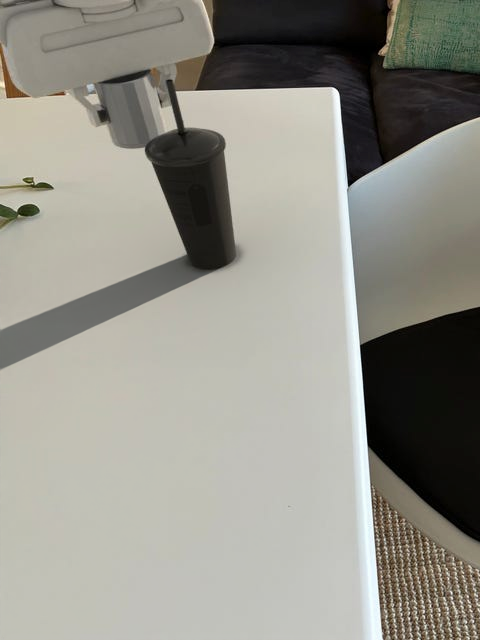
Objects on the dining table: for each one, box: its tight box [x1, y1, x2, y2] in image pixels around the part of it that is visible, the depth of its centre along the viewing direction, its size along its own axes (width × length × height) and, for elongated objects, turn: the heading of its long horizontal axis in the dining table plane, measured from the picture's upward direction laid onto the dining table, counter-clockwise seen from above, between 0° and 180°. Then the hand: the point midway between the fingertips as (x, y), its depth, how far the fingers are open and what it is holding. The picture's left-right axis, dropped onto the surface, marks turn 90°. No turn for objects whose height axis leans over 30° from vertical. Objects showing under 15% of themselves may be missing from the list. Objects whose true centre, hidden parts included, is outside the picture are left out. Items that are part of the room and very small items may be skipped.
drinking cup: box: [144, 79, 237, 271], centre depth 79 cm, size 8×8×20 cm
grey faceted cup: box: [93, 69, 168, 150], centre depth 83 cm, size 6×6×7 cm
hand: (134, 114), depth 84 cm, fingers closed on grey faceted cup, 6 cm apart
